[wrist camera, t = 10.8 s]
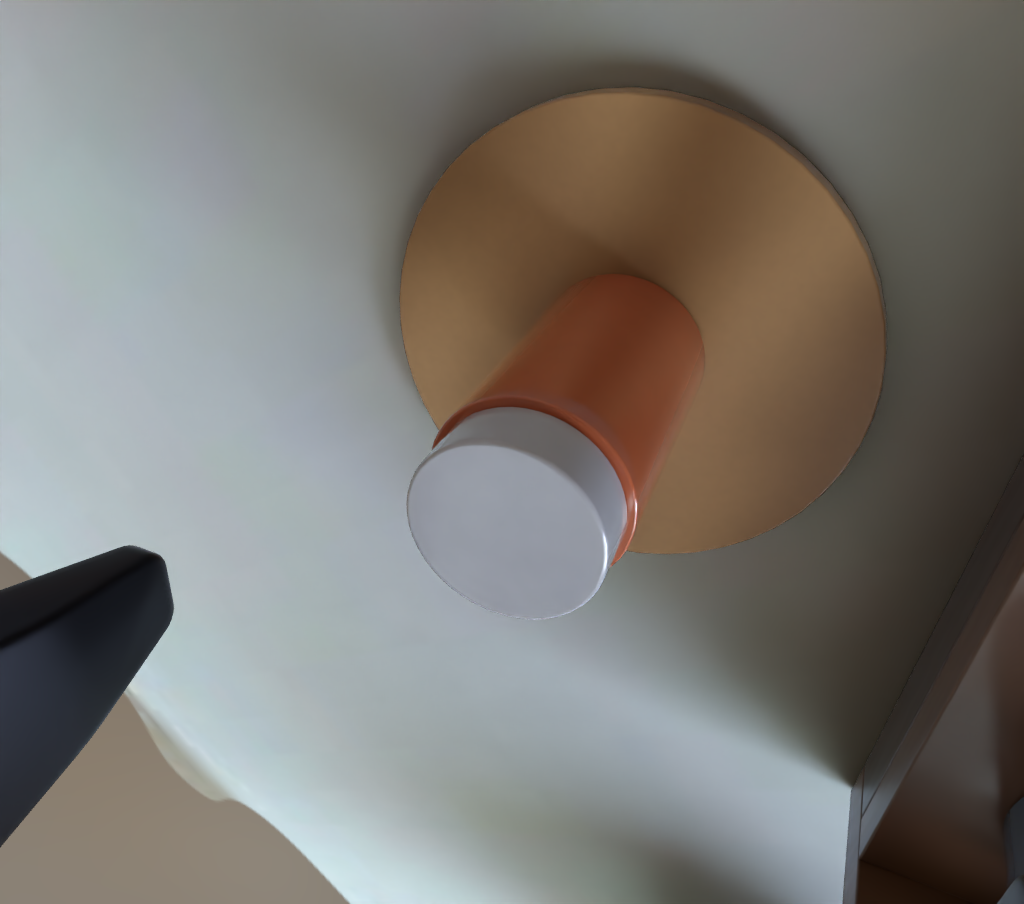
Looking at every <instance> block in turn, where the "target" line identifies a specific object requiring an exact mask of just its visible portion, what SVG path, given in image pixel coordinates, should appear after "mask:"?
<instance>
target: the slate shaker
mask: <svg viewBox="0 0 1024 904" xmlns="http://www.w3.org/2000/svg"><path fill="white" fill-rule="evenodd" d="M1002 836H1003V847H1004V859H1005V870H1006V881H1007V889H1008V888H1009V887H1010V885H1011V884H1012V883H1013V881H1014V880H1015V879H1016V878H1017V877H1019V876H1021V875H1024V797H1022V798H1021V799H1020V800H1018V801H1017V802H1016V803H1015V804H1014V805H1013V806H1012V807H1011V809H1010V810H1009V812H1008V813H1007V815H1006V817H1005V819H1004V823H1003V829H1002Z"/></svg>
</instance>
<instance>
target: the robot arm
mask: <svg viewBox="0 0 1024 904" xmlns="http://www.w3.org/2000/svg"><path fill="white" fill-rule="evenodd" d="M173 611H174V604H173V598H172V593H171V588H170V583H169V578H168V573H167V568H166V564H165V561H164V559H163V558H162V557H161V556H160V555H158V554H156V553H153V552H151V551H148V550H145V549H143V548H140V547H137V546H130V545H129V546H123V547H120V548H117V549H114V550H111V551H108V552H106V553H103V554H100V555H97V556H94V557H92V558H89V559H86V560H83V561H81V562H78V563H75V564H72V565H69V566H67V567H64V568H61V569H58V570H55V571H53V572H50V573H47V574H44V575H41V576H39V577H36V578H33V579H30V580H27V581H25V582H22V583H19V584H17V585H14V586H11V587H8V588H5V589H3V590H0V847H1V846H2V845H3V843H4V842H5V841H6V840H7V839H8V837H9V836H10V835H11V834H12V833H13V831H14V830H15V829H16V828H17V827H18V826H19V824H20V823H21V822H22V821H23V820H24V818H25V817H26V816H27V815H28V813H29V812H30V811H31V810H32V809H33V808H34V806H35V805H36V804H37V803H38V802H39V800H40V799H41V798H42V797H43V796H44V794H45V793H46V792H47V791H48V790H49V789H50V787H51V786H52V785H53V784H54V783H55V781H56V780H57V779H58V778H59V776H60V775H61V774H62V773H63V772H64V771H65V769H66V768H67V767H68V766H69V765H70V763H71V762H72V761H73V760H74V759H75V757H76V756H77V755H78V754H79V753H80V751H81V750H82V749H83V748H84V746H85V745H86V744H87V743H88V741H89V740H90V739H91V738H92V736H93V735H94V733H95V732H96V731H97V729H98V728H99V726H100V725H101V724H102V722H103V721H104V720H105V718H106V717H107V715H108V713H109V712H110V711H111V710H112V708H113V707H114V705H115V704H116V702H117V701H118V699H119V698H120V696H121V695H122V694H123V692H124V691H125V689H126V688H127V686H128V685H129V683H130V682H131V680H132V679H133V678H134V676H135V675H136V673H137V672H138V670H139V669H140V667H141V666H142V664H143V663H144V662H145V660H146V659H147V657H148V656H149V654H150V653H151V651H152V650H153V648H154V647H155V645H156V644H157V643H158V641H159V640H160V638H161V637H162V635H163V634H164V632H165V631H166V629H167V628H168V626H169V624H170V622H171V619H172V616H173ZM997 904H1024V875H1021V876H1019V877H1017V878H1016V879H1015V880H1014V881H1013V883H1012V884H1011V885H1010V887H1009V888H1008V889H1007V891H1006V892H1005V894H1004V895H1003V896H1002V898H1001V899H1000V900H999V902H998V903H997Z"/></svg>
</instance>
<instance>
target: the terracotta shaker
mask: <svg viewBox="0 0 1024 904" xmlns="http://www.w3.org/2000/svg"><path fill="white" fill-rule="evenodd" d="M704 371H705V351H704V345H703V341H702V337H701V334H700V332H699V330H698V327H697V325H696V323H695V322H694V320H693V318H692V316H691V315H690V314H689V312H688V311H687V310H686V308H685V307H684V306H683V305H682V304H681V303H680V302H679V301H678V300H677V299H676V298H675V297H674V296H673V295H671V294H670V293H669V292H667V291H666V290H664V289H663V288H661V287H659V286H658V285H656V284H654V283H652V282H649V281H647V280H645V279H641V278H638V277H635V276H629V275H623V274H605V275H598V276H593V277H589V278H586V279H584V280H581V281H579V282H577V283H575V284H573V285H572V286H570V287H569V288H567V289H566V290H565V291H563V292H562V293H561V294H560V295H559V296H558V297H557V298H556V299H555V300H554V301H553V303H552V304H551V305H550V306H549V307H548V308H547V309H546V310H545V311H544V313H543V314H542V315H541V316H540V317H539V318H538V319H537V320H536V321H535V323H534V324H533V325H532V326H531V327H530V328H529V329H528V330H527V331H526V333H525V334H524V335H523V336H522V337H521V338H520V339H519V340H518V341H517V343H516V344H515V345H514V346H513V347H512V348H511V349H510V350H509V351H508V353H507V354H506V355H505V356H504V357H503V358H502V359H501V360H500V361H499V363H498V364H497V365H496V366H495V367H494V368H493V369H492V370H491V371H490V373H489V374H488V375H487V376H486V377H485V378H484V379H483V380H482V382H481V383H480V384H479V385H478V386H477V387H476V388H475V389H474V390H473V392H472V393H471V394H470V395H469V396H468V397H467V398H466V399H465V400H464V402H463V403H462V404H461V405H460V406H459V407H458V408H457V409H456V410H455V412H454V413H453V414H452V415H451V416H450V417H449V418H448V419H447V420H446V422H445V423H444V424H443V426H442V427H441V429H440V430H439V432H438V434H437V436H436V438H435V440H434V443H433V447H432V450H431V452H430V453H429V454H428V455H427V457H426V458H425V459H424V460H423V461H422V462H421V464H420V465H419V466H418V468H417V469H416V471H415V473H414V475H413V477H412V479H411V482H410V485H409V489H408V495H407V517H408V522H409V527H410V530H411V533H412V536H413V539H414V541H415V543H416V545H417V547H418V549H419V551H420V552H421V554H422V556H423V557H424V559H425V560H426V562H427V563H428V564H429V566H430V567H431V568H432V569H433V571H434V572H435V573H436V574H437V575H438V576H439V577H440V578H441V579H442V580H443V581H444V582H445V583H446V584H447V585H448V586H449V587H451V588H452V589H453V590H455V591H456V592H457V593H459V594H460V595H461V596H463V597H465V598H466V599H468V600H469V601H471V602H473V603H475V604H477V605H479V606H481V607H483V608H485V609H487V610H490V611H492V612H495V613H498V614H502V615H505V616H509V617H514V618H519V619H531V620H533V619H548V618H555V617H558V616H562V615H565V614H567V613H570V612H572V611H574V610H576V609H578V608H579V607H581V606H582V605H584V604H585V603H587V602H588V601H589V600H590V599H591V598H592V597H593V596H594V595H595V594H596V592H597V591H598V590H599V588H600V587H601V585H602V583H603V581H604V579H605V577H606V575H607V572H608V570H609V568H610V567H611V566H613V565H614V564H615V563H616V562H617V561H618V560H619V559H620V558H621V557H622V556H623V554H624V553H625V552H626V550H627V549H628V547H629V545H630V544H631V542H632V540H633V538H634V535H635V533H636V531H637V529H638V526H639V524H640V522H641V520H642V517H643V515H644V513H645V511H646V508H647V506H648V504H649V502H650V499H651V497H652V495H653V493H654V490H655V488H656V486H657V484H658V481H659V479H660V477H661V475H662V472H663V470H664V468H665V466H666V463H667V461H668V459H669V457H670V454H671V452H672V450H673V448H674V445H675V443H676V441H677V439H678V436H679V434H680V432H681V430H682V427H683V425H684V423H685V421H686V418H687V416H688V414H689V412H690V409H691V407H692V405H693V403H694V400H695V398H696V396H697V394H698V391H699V389H700V387H701V384H702V380H703V377H704Z"/></svg>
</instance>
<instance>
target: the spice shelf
mask: <svg viewBox="0 0 1024 904" xmlns="http://www.w3.org/2000/svg"><path fill="white" fill-rule="evenodd" d="M1022 797H1024V455H1023V457H1022V459H1021V461H1020V463H1019V465H1018V466H1017V468H1016V470H1015V472H1014V474H1013V476H1012V478H1011V480H1010V482H1009V484H1008V486H1007V488H1006V490H1005V492H1004V494H1003V496H1002V498H1001V500H1000V502H999V504H998V506H997V508H996V509H995V511H994V513H993V515H992V517H991V519H990V521H989V523H988V525H987V527H986V529H985V531H984V533H983V535H982V537H981V539H980V541H979V543H978V545H977V547H976V549H975V551H974V552H973V554H972V556H971V558H970V560H969V562H968V564H967V566H966V568H965V570H964V572H963V574H962V576H961V578H960V580H959V582H958V584H957V586H956V588H955V590H954V592H953V594H952V595H951V597H950V599H949V601H948V603H947V605H946V607H945V609H944V611H943V613H942V615H941V617H940V619H939V621H938V623H937V625H936V627H935V629H934V631H933V633H932V635H931V637H930V638H929V640H928V642H927V644H926V646H925V648H924V650H923V652H922V654H921V656H920V658H919V660H918V662H917V664H916V666H915V668H914V670H913V672H912V674H911V676H910V678H909V680H908V681H907V683H906V685H905V687H904V689H903V691H902V693H901V695H900V697H899V699H898V701H897V703H896V705H895V707H894V709H893V711H892V713H891V715H890V717H889V719H888V721H887V723H886V724H885V726H884V728H883V730H882V732H881V734H880V736H879V738H878V740H877V742H876V744H875V746H874V748H873V750H872V752H871V754H870V756H869V758H868V760H867V762H866V764H865V766H864V767H863V769H862V771H861V773H860V775H859V777H858V779H857V781H856V782H855V784H854V786H853V788H852V790H851V799H850V812H849V825H848V839H847V852H846V865H845V878H844V891H843V904H997V903H998V902H999V900H1000V899H1001V898H1002V896H1003V895H1004V894H1005V892H1006V891H1007V881H1006V870H1005V859H1004V847H1003V836H1002V829H1003V823H1004V819H1005V817H1006V815H1007V813H1008V812H1009V810H1010V809H1011V807H1012V806H1013V805H1014V804H1015V803H1016V802H1017V801H1018V800H1020V799H1021V798H1022Z"/></svg>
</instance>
